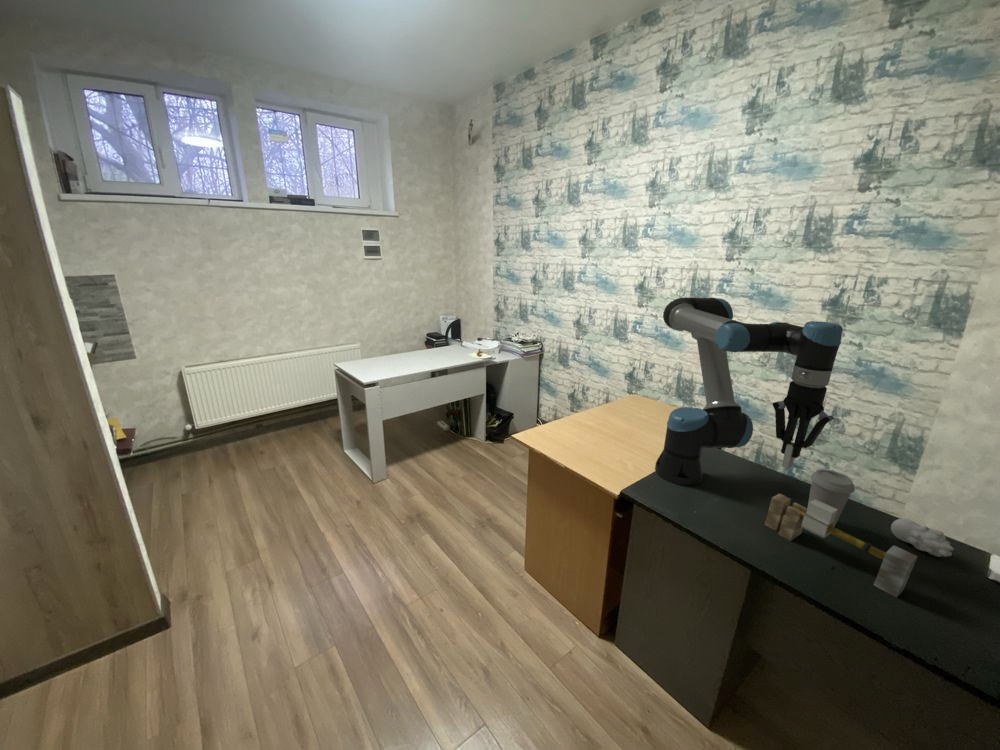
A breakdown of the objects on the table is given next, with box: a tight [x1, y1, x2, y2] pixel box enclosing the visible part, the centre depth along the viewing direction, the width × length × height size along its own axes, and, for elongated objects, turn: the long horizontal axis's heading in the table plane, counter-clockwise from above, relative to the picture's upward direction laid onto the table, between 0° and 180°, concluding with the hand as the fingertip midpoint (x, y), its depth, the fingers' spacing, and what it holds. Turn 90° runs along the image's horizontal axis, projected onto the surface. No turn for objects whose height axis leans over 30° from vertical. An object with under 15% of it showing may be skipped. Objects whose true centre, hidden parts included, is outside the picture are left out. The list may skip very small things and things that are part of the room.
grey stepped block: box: [801, 499, 838, 539], centre depth 100 cm, size 5×4×7 cm
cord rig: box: [764, 493, 918, 599], centre depth 98 cm, size 28×6×10 cm, turn 30°
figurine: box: [890, 518, 955, 558], centre depth 102 cm, size 7×7×12 cm
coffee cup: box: [806, 468, 856, 528], centre depth 109 cm, size 10×10×15 cm
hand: (786, 466), depth 105 cm, fingers closed
